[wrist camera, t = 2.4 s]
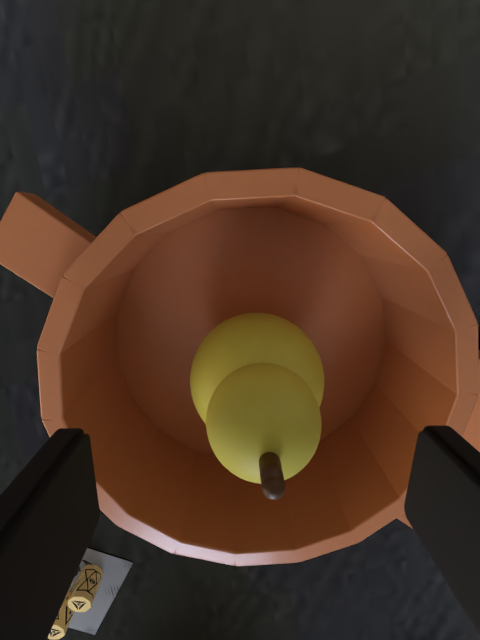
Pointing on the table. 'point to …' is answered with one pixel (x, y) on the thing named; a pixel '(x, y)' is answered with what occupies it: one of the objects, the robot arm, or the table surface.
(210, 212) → the pan
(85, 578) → the dice set
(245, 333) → the pear
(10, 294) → the table surface
